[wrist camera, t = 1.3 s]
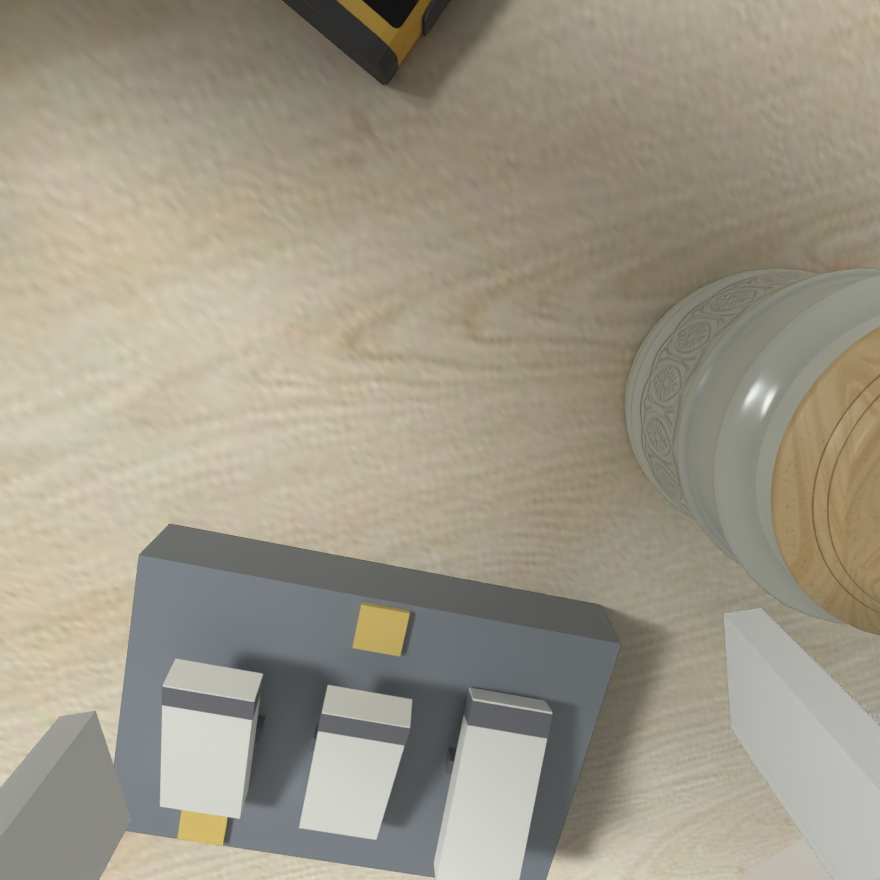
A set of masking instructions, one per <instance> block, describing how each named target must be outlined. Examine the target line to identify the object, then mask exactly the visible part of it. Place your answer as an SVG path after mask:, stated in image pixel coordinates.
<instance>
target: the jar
mask: <svg viewBox="0 0 880 880" xmlns="http://www.w3.org/2000/svg"><path fill="white" fill-rule="evenodd" d="M624 414H625V423H626V429H627V433H628V437H629V440H630V443H631V446H632V449H633V452H634V455H635V457H636V460H637V462H638V464H639V466H640V468H641V469H642V471H643V473H644V474H645V476H646V477H647V479H648V480H649V482H650V483H651V484H652V485H653V486H654V488H655V489H656V490H657V491H658V492H659V493H660V494H661V495H662V496H663V497H664V498H665V499H666V500H667V501H669V502H670V503H671V504H672V505H673V506H674V507H676V508H677V509H679V510H680V511H681V512H683V513H685V514H687V515H688V516H690V517H692V518H693V519H694V520H695V521H696V522H697V523H698V525H699V526H700V528H701V529H702V531H703V532H704V533H705V534H706V536H707V537H708V538H709V539H710V540H711V542H712V543H713V544H714V545H715V546H716V547H717V548H718V549H720V550H721V551H722V552H723V553H724V554H725V555H727V556H728V557H729V558H731V559H732V560H734V561H735V562H737V563H738V564H740V565H741V566H742V568H743V569H744V570H745V571H746V572H747V574H748V575H749V576H750V577H751V578H752V579H753V580H754V581H755V582H756V583H757V584H758V585H759V586H760V587H761V588H762V589H763V590H765V591H766V592H767V593H768V594H769V595H771V596H772V597H774V598H775V599H777V600H778V601H780V602H781V603H783V604H785V605H786V606H788V607H790V608H792V609H794V610H796V611H799V612H801V613H804V614H806V615H809V616H812V617H815V618H818V619H822V620H825V621H830V622H835V623H840V624H848V625H851V626H853V627H855V628H858V629H860V630H863V631H866V632H869V633H873V634H876V635H880V269H871V268H866V269H847V270H840V271H834V272H829V273H812V272H808V271H803V270H797V269H759V270H751V271H745V272H741V273H737V274H733V275H730V276H727V277H724V278H721V279H719V280H717V281H714V282H712V283H710V284H708V285H706V286H704V287H702V288H700V289H698V290H696V291H694V292H693V293H691V294H689V295H688V296H686V297H685V298H683V299H682V300H680V301H679V302H678V303H676V304H675V305H674V306H673V307H672V308H670V309H669V310H668V311H667V312H666V313H665V314H664V315H663V316H662V317H661V318H660V319H659V320H658V322H657V323H656V324H655V325H654V326H653V328H652V329H651V330H650V332H649V333H648V334H647V336H646V337H645V339H644V341H643V342H642V344H641V346H640V348H639V349H638V352H637V354H636V356H635V358H634V361H633V363H632V366H631V369H630V372H629V375H628V380H627V384H626V390H625V401H624Z"/></svg>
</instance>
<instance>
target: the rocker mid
mask: <svg viewBox="0 0 880 880" xmlns="http://www.w3.org/2000/svg"><path fill="white" fill-rule="evenodd" d="M411 711H412V699H407V698H402V697H396V696H390V695H384V694H378V693H373V692H367V691H361V690H355V689H349V688H344V687H338V686H332V685H328V686H327V689H326V693H325V698H324V703H323V707H322V712H321V717H320V722H319V727H318V734H317V739H316V744H315V749H314V754H313V759H312V764H311V770H310V775H309V780H308V785H307V790H306V795H305V800H304V805H303V810H302V815H301V820H300V825H299V828H302V829H308V830H315V831H321V832H328V833H334V834H341V835H347V836H354V837H360V838H367V839H373V840H376V839H377V836H378V833H379V829H380V826H381V823H382V819H383V816H384V813H385V809H386V806H387V803H388V799H389V796H390V793H391V789H392V786H393V783H394V779H395V776H396V773H397V769H398V766H399V763H400V759H401V756H402V753H403V749H404V746H405V744H406V741H407V738H408V734H409V731H410V724H411Z"/></svg>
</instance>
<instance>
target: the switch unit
mask: <svg viewBox="0 0 880 880" xmlns="http://www.w3.org/2000/svg"><path fill="white" fill-rule="evenodd" d="M620 646H621V643H620V641H619V639H618V637H617V635H616V633H615V631H614V630H613V628H612V626H611V624H610V622H609V620H608V618H607V617H606V615H605V613H604V611H603V609H602V607H601V605H597V604H592V603H586V602H581V601H576V600H571V599H565V598H560V597H555V596H549V595H544V594H539V593H533V592H528V591H523V590H517V589H512V588H507V587H502V586H496V585H491V584H486V583H480V582H475V581H470V580H464V579H459V578H454V577H449V576H443V575H438V574H433V573H427V572H422V571H417V570H411V569H406V568H401V567H396V566H390V565H385V564H380V563H374V562H369V561H364V560H358V559H353V558H348V557H343V556H337V555H332V554H327V553H321V552H316V551H311V550H305V549H300V548H295V547H289V546H284V545H279V544H274V543H268V542H263V541H258V540H252V539H247V538H242V537H236V536H231V535H226V534H221V533H215V532H210V531H205V530H199V529H194V528H189V527H183V526H178V525H173V524H169V525H168V526H167V527H166V528H165V529H164V530H163V531H162V532H161V533H160V534H159V535H158V536H157V537H156V538H155V539H154V540H153V541H152V542H151V543H150V544H149V545H148V546H147V547H146V548H145V549H144V550H143V551H142V552H141V553H140V554H139V558H138V566H137V575H136V583H135V591H134V600H133V608H132V617H131V625H130V634H129V642H128V650H127V659H126V667H125V676H124V684H123V693H122V701H121V709H120V718H119V726H118V735H117V743H116V752H115V760H114V768H115V771H116V774H117V777H118V780H119V783H120V786H121V789H122V793H123V796H124V799H125V802H126V805H127V808H128V811H129V814H130V817H131V821H130V823H129V825H128V827H127V829H126V831H129V832H136V833H142V834H149V835H156V836H162V837H169V838H176V839H180V840H187V841H193V842H200V843H207V844H213V845H220V846H229V847H235V848H242V849H249V850H255V851H262V852H268V853H275V854H282V855H288V856H295V857H302V858H308V859H315V860H322V861H328V862H335V863H342V864H348V865H355V866H361V867H368V868H375V869H381V870H388V871H395V872H401V873H408V874H415V875H421V876H428V877H434V878H435V870H434V860H435V855H436V850H437V845H438V840H439V835H440V830H441V825H442V820H443V815H444V810H445V805H446V800H447V795H448V790H449V785H450V780H451V775H452V770H453V765H454V760H455V755H456V750H457V745H458V740H459V735H460V730H461V725H462V720H463V715H464V708H465V703H466V698H467V693H468V689H469V687H471V688H477V689H482V690H488V691H494V692H499V693H505V694H511V695H517V696H522V697H528V698H534V699H539V700H545V701H546V703H547V704H548V706H549V708H550V709H551V711H552V714H553V715H552V720H551V725H550V730H549V735H548V739H547V742H546V747H545V752H544V757H543V763H542V768H541V773H540V778H539V783H538V788H537V793H536V798H535V803H534V808H533V813H532V818H531V823H530V828H529V833H528V838H527V843H526V848H525V854H524V859H523V864H522V869H521V874H520V879H519V880H546V879H547V875H548V872H549V869H550V866H551V863H552V860H553V857H554V853H555V850H556V847H557V844H558V841H559V838H560V835H561V831H562V828H563V825H564V822H565V819H566V816H567V813H568V809H569V806H570V803H571V800H572V797H573V794H574V791H575V787H576V784H577V781H578V778H579V775H580V772H581V769H582V765H583V762H584V759H585V756H586V753H587V750H588V747H589V743H590V740H591V737H592V734H593V731H594V728H595V725H596V721H597V718H598V715H599V712H600V709H601V706H602V703H603V699H604V696H605V693H606V690H607V687H608V684H609V681H610V677H611V674H612V671H613V668H614V665H615V662H616V659H617V655H618V652H619V649H620ZM175 659H181V660H187V661H193V662H199V663H204V664H210V665H216V666H222V667H228V668H233V669H239V670H245V671H251V672H257V673H262V674H263V683H262V691H261V695H260V703H259V710H258V718H257V726H256V734H255V742H254V749H253V757H252V765H251V773H250V781H249V788H248V793H247V797H246V800H245V803H244V807H243V810H242V814H241V817H240V819H237V818H231V817H224V816H218V815H211V814H205V813H198V812H192V811H185V810H179V809H172V808H166V807H160V779H161V735H162V686H163V683H164V681H165V679H166V677H167V675H168V673H169V671H170V669H171V667H172V665H173V663H174V661H175ZM328 685H332V686H338V687H344V688H349V689H355V690H361V691H367V692H373V693H378V694H384V695H390V696H396V697H402V698H407V699H412V711H411V724H410V731H409V734H408V738H407V741H406V744H405V746H404V749H403V753H402V756H401V759H400V763H399V766H398V769H397V773H396V776H395V779H394V783H393V786H392V789H391V793H390V796H389V799H388V803H387V806H386V809H385V813H384V816H383V819H382V823H381V826H380V829H379V833H378V836H377V839H376V840H373V839H367V838H360V837H354V836H347V835H341V834H334V833H328V832H321V831H315V830H308V829H302V828H299V825H300V820H301V815H302V810H303V805H304V800H305V795H306V790H307V785H308V780H309V775H310V770H311V764H312V759H313V754H314V749H315V744H316V739H317V734H318V727H319V722H320V717H321V712H322V707H323V703H324V698H325V693H326V689H327V686H328Z"/></svg>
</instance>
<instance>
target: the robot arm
mask: <svg viewBox="0 0 880 880" xmlns="http://www.w3.org/2000/svg"><path fill="white" fill-rule="evenodd" d="M724 629H725V645H726V661H727V677H728V694H729V710H730V726H731V730H732V731H733V733H734V734H735V736H736V737H737V739H738V740H739V742H740V743H741V745H742V746H743V748H744V749H745V751H746V752H747V753H748V755H749V756H750V758H751V759H752V761H753V762H754V764H755V765H756V767H757V768H758V770H759V771H760V773H761V774H762V776H763V777H764V779H765V780H766V782H767V783H768V785H769V786H770V788H771V789H772V791H773V792H774V794H775V795H776V797H777V798H778V800H779V801H780V803H781V804H782V805H783V807H784V808H785V810H786V811H787V813H788V814H789V816H790V817H791V819H792V820H793V822H794V823H795V825H796V826H797V828H798V829H799V831H800V832H801V834H802V835H803V837H804V838H805V840H806V841H807V843H808V844H809V846H810V847H811V849H812V850H813V852H814V853H815V854H816V856H817V857H818V859H819V860H820V862H821V863H822V865H823V866H824V868H825V869H826V871H827V872H828V874H829V875H830V877H831V878H832V880H880V725H879V724H878V723H877V722H876V721H875V720H873V719H872V718H871V717H870V716H869V715H868V714H867V713H866V712H865V711H864V710H863V709H862V708H861V707H860V706H859V705H858V704H857V703H856V702H855V701H854V700H853V699H852V698H851V697H850V696H849V695H848V694H847V693H846V692H845V691H844V690H843V689H842V688H841V687H840V686H839V685H838V684H837V683H836V682H835V681H834V680H833V679H832V678H831V677H830V676H829V675H828V674H827V673H826V672H825V671H824V670H823V669H822V668H821V667H820V666H819V665H818V664H817V663H816V662H815V661H814V660H813V659H812V658H811V657H810V656H809V655H808V654H807V653H806V652H805V651H804V650H803V649H802V648H801V647H800V646H799V645H798V644H797V643H796V642H795V641H794V640H793V639H792V638H791V637H790V636H789V635H788V634H787V633H786V632H785V631H784V630H783V629H782V628H781V627H780V626H779V625H778V624H777V623H776V622H775V621H774V620H773V619H772V618H771V617H770V616H769V615H768V614H767V613H766V612H765V611H764V610H763V609H762V608H756V609H749V610H743V611H736V612H730V613H724ZM130 821H131V817H130V814H129V811H128V808H127V805H126V802H125V799H124V796H123V793H122V789H121V786H120V783H119V780H118V777H117V774H116V771H115V768H114V765H113V762H112V759H111V756H110V753H109V750H108V747H107V744H106V741H105V738H104V735H103V732H102V729H101V726H100V723H99V720H98V717H97V714H96V711H92V712H86V713H79V714H73V715H66V716H60V717H59V718H58V719H57V720H56V722H55V723H54V724H53V725H52V726H51V728H50V729H49V730H48V731H47V732H46V734H45V735H44V736H43V737H42V738H41V740H40V741H39V742H38V743H37V744H36V746H35V747H34V748H33V749H32V751H31V752H30V753H29V754H28V755H27V757H26V758H25V759H24V760H23V761H22V763H21V764H20V765H19V766H18V767H17V769H16V770H15V771H14V772H13V773H12V775H11V776H10V777H9V778H8V780H7V781H6V782H5V783H4V784H3V786H2V787H1V788H0V880H99V879H100V877H101V875H102V873H103V872H104V870H105V868H106V866H107V864H108V862H109V860H110V859H111V857H112V855H113V853H114V851H115V849H116V847H117V846H118V844H119V842H120V840H121V838H122V836H123V834H124V833H125V831H126V829H127V827H128V825H129V823H130Z"/></svg>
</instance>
